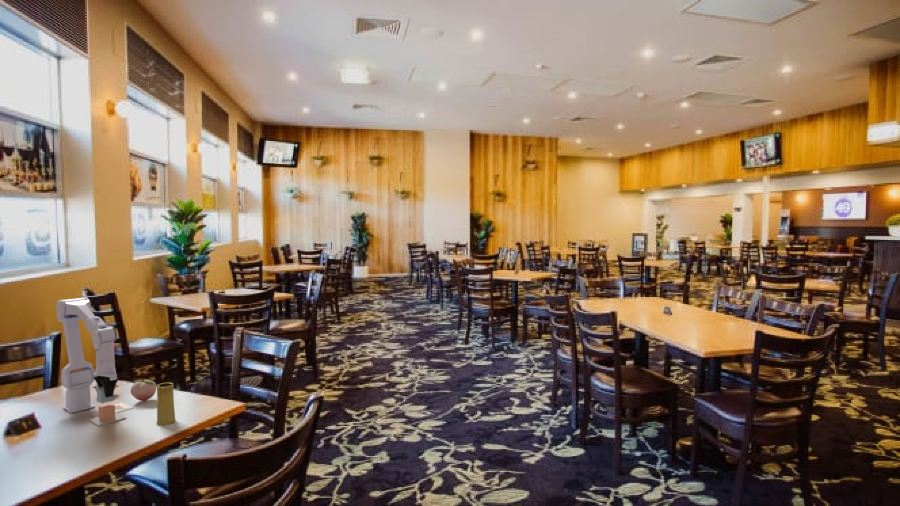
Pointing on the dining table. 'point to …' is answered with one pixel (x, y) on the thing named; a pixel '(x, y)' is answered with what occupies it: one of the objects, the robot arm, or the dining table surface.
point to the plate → (101, 423)
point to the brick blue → (103, 396)
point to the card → (121, 407)
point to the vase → (165, 404)
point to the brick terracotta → (106, 412)
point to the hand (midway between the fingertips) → (106, 395)
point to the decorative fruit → (143, 389)
